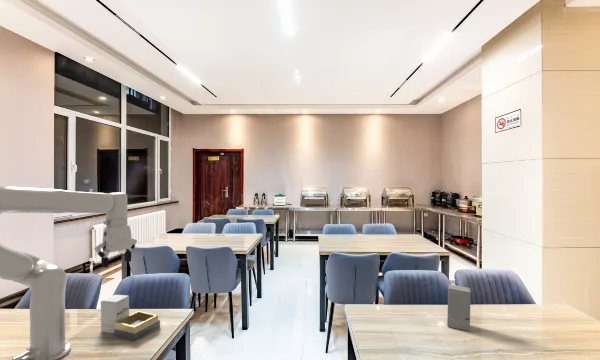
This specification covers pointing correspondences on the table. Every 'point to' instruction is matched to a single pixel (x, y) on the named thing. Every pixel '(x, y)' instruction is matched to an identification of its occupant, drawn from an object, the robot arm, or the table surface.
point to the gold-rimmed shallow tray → (136, 325)
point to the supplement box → (113, 311)
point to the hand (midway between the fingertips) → (116, 264)
